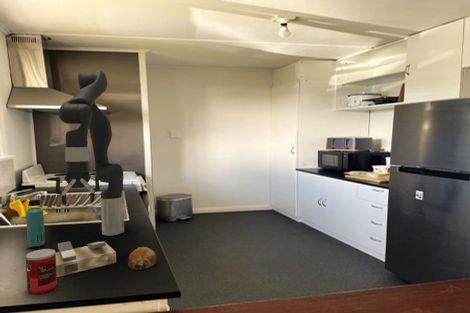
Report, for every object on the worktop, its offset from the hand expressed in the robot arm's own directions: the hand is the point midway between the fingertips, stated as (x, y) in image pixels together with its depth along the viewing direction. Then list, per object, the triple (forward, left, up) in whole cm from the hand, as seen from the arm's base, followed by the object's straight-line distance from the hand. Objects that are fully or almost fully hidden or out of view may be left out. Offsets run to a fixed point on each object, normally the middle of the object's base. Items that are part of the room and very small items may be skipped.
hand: (78, 204), depth 116 cm
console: (0, +2, -22) cm, 22 cm away
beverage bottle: (+11, -28, -22) cm, 37 cm away
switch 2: (-5, +2, -17) cm, 18 cm away
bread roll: (-17, +16, -22) cm, 32 cm away
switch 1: (+5, +1, -17) cm, 18 cm away
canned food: (+14, +14, -22) cm, 29 cm away
